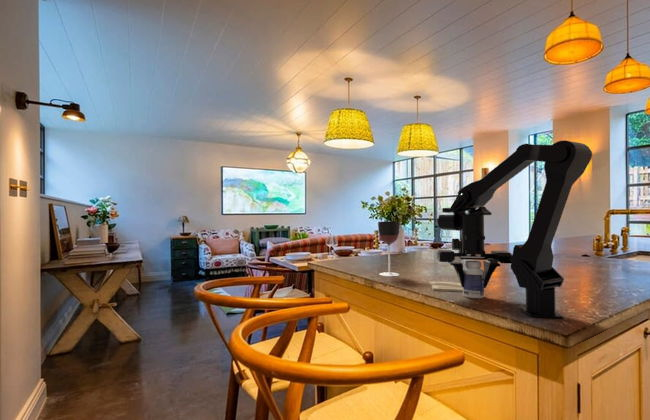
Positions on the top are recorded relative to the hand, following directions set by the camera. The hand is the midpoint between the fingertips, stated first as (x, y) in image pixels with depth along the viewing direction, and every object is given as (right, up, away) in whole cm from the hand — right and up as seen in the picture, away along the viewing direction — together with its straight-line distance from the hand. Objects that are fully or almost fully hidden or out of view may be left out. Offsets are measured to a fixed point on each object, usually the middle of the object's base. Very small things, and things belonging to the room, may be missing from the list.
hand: (473, 287), depth 90 cm
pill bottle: (0, -3, 0) cm, 3 cm away
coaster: (-3, -3, +11) cm, 11 cm away
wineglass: (-17, -3, +33) cm, 37 cm away
